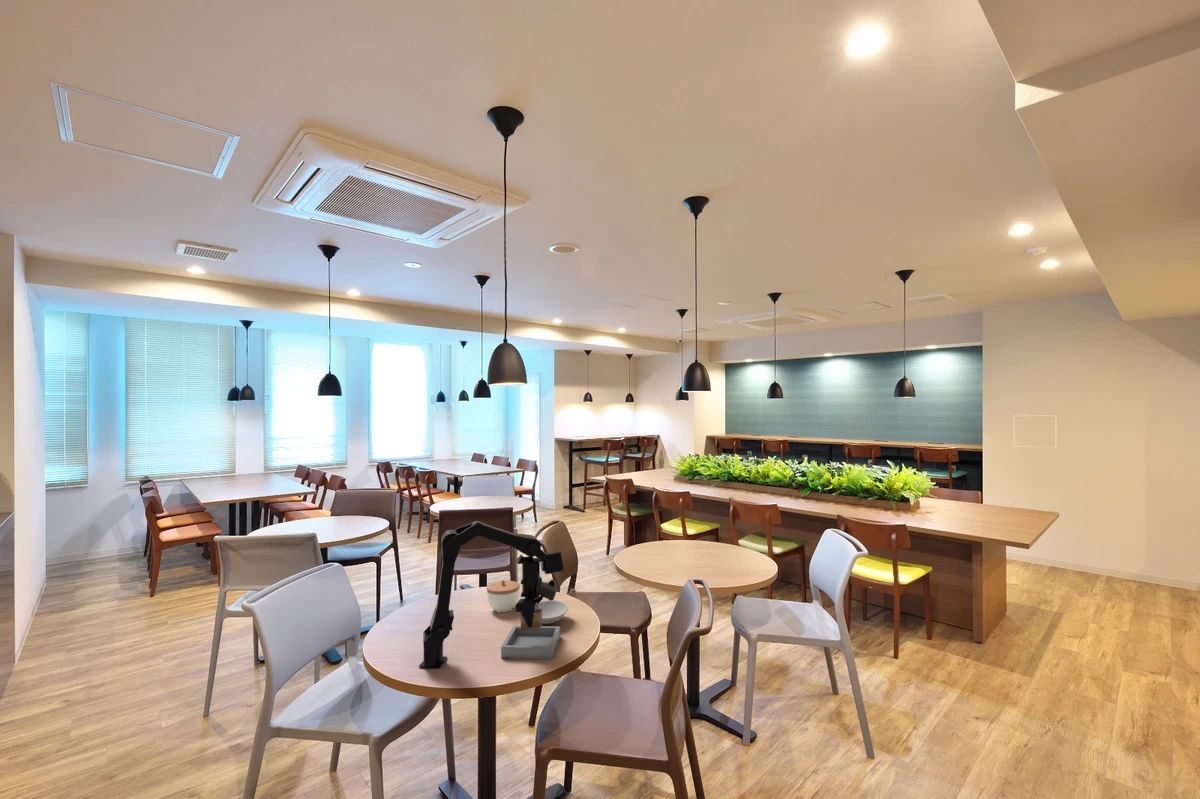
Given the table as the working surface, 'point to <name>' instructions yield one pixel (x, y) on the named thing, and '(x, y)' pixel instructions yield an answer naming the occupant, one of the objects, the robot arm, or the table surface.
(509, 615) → the table surface
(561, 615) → the dish
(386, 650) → the table surface
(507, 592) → the lidded bowl
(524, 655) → the tray
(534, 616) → the walnut block
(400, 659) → the table surface
